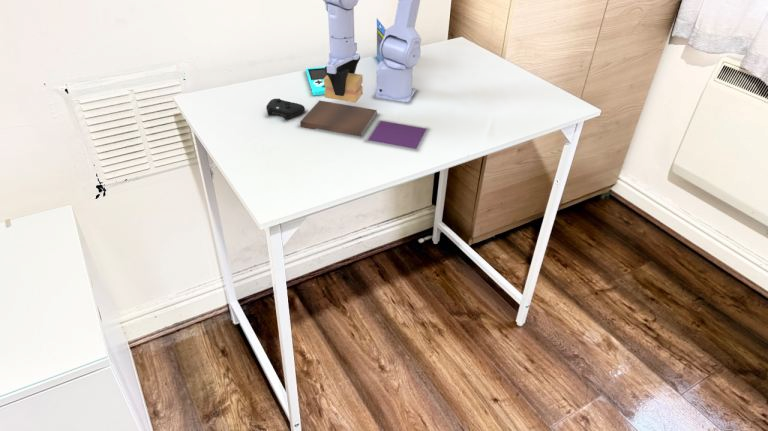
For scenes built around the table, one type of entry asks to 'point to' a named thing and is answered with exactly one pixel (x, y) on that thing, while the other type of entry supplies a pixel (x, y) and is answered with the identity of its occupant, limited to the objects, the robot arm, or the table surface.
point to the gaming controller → (284, 108)
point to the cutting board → (339, 118)
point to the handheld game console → (316, 80)
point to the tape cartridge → (380, 39)
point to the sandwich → (346, 88)
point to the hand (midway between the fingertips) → (343, 90)
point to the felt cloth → (397, 134)
